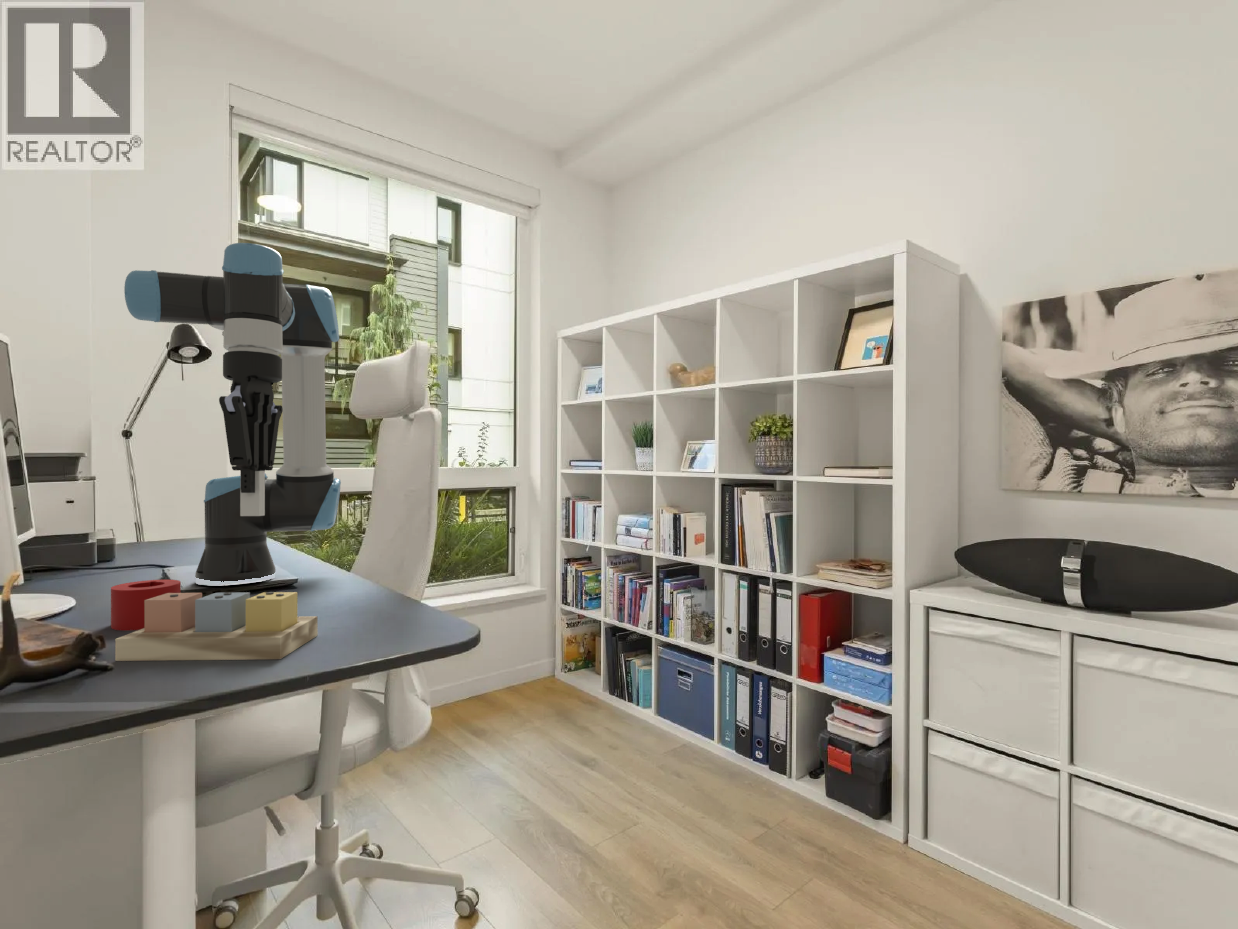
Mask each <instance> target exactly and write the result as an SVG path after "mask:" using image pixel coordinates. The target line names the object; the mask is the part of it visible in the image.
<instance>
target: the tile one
mask: <svg viewBox="0 0 1238 929" xmlns="http://www.w3.org/2000/svg"><path fill="white" fill-rule="evenodd" d="M202 597H203V593H202V592H181V593H166V594H163V595H160V596H156V597H153V598H150V599H147V600H144V602H145V633H146V632H183V631H186V630H188V629H190V628H193V627H195V600H196V599H199V598H202Z"/></svg>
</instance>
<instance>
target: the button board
mask: <svg viewBox="0 0 1238 929" xmlns="http://www.w3.org/2000/svg"><path fill="white" fill-rule="evenodd" d="M318 621H319V620H318V616H315V615H313V616H310V615H309V616H306V615H304V616H300V615H299V616H297V624H295V625H293V626H291V627H290V628H288V629H286V630H284V631H265V632H246V625H245V626H243V627H241V628H239V629H237V630H235V631H233V632H195V627H193V628H190V629H188V630H186V631H183V632H146V633H145V628H143V629H140V630H134V631H132V632H130V633H128V634H125V635H122V636H119V637H117V638H115V647H114V648H115V650H114V651H115V654H114V655H115V656H114V657H115V662H116V661H117V662H121V661H122V662H126V661H127V662H130V661H131V662H136V661H140V662H141V661H147V662H148V661H221V660H222V661H224V660H225V661H227V660H228V661H229V660H230V661H231V660H232V661H236V660H237V661H239V660H243V661H244V660H247V661H248V660H281V659H283V658H284V657H286V656H288V655H289V654H291V653H293V652H294V651H295V650H297V649H298V648H300V647H302V646H303V645H305V644H307V643H309V642H310V641H311V640H313V639H315V638H316V637H317V636H318V634H319V633H318V632H319V628H318V623H319V622H318Z"/></svg>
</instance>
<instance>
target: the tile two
mask: <svg viewBox="0 0 1238 929" xmlns="http://www.w3.org/2000/svg"><path fill="white" fill-rule="evenodd" d="M248 598H251V592H250V591H249V592H230V591H229V592H215V593H211V594H208V595H206V596H202V598H199V599H196V600H195V632H233V631H235V630H237V629H239V628H241V627H243V626H245V625H246V599H248Z"/></svg>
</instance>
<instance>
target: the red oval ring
mask: <svg viewBox="0 0 1238 929" xmlns="http://www.w3.org/2000/svg"><path fill="white" fill-rule="evenodd" d="M181 585H182V584H181V581H180V580H177V579H150V580H137V581H132V582H131V581H130V582H124V583H121V584H117V585H113V586H111V587H110V629H112V630H115V631H138V630H140V629H143V628H145V602H144V600H147V599H150V598H153V597H156V596H160V595H163V594H166V593H182V592H181V590H182V589H181Z"/></svg>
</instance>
